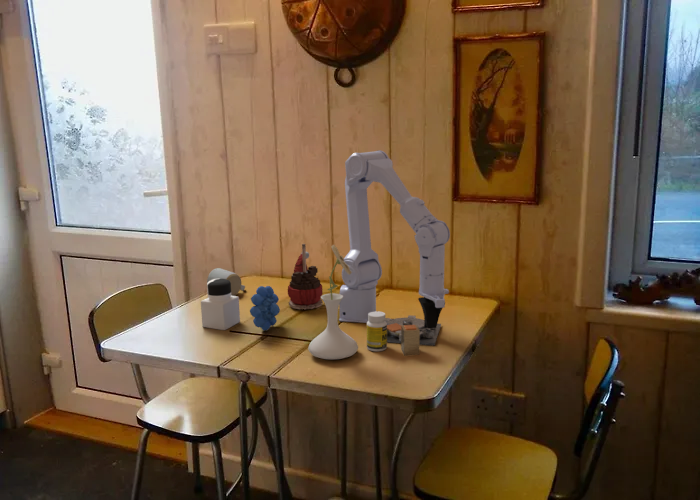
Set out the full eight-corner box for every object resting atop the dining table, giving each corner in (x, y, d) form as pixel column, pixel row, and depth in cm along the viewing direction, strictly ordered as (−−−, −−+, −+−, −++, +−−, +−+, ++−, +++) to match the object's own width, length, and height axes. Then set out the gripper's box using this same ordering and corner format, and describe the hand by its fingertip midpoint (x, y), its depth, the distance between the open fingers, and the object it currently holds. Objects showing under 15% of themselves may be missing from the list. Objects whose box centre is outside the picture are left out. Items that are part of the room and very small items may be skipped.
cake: (308, 314, 177) (306, 249, 173) (281, 308, 182) (278, 246, 178) (329, 303, 186) (328, 242, 182) (303, 298, 191) (301, 238, 187)
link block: (404, 355, 148) (404, 329, 146) (401, 350, 151) (401, 324, 150) (419, 354, 148) (419, 328, 146) (416, 349, 151) (416, 323, 150)
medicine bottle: (240, 322, 172) (238, 278, 169) (224, 330, 165) (221, 285, 163) (218, 318, 175) (215, 275, 172) (201, 327, 168) (198, 282, 166)
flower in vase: (353, 365, 142) (352, 254, 137) (303, 362, 144) (299, 253, 139) (363, 343, 155) (361, 241, 149) (316, 341, 157) (313, 240, 151)
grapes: (268, 340, 158) (266, 293, 156) (245, 336, 161) (242, 290, 158) (292, 325, 169) (290, 280, 166) (269, 321, 171) (267, 278, 169)
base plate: (372, 341, 156) (372, 338, 156) (383, 322, 170) (383, 319, 170) (434, 345, 153) (434, 343, 153) (441, 325, 166) (441, 323, 166)
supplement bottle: (385, 352, 149) (385, 317, 148) (365, 351, 150) (364, 316, 148) (388, 344, 154) (388, 311, 152) (368, 343, 155) (368, 310, 153)
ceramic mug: (226, 299, 191) (224, 274, 189) (207, 295, 196) (205, 270, 194) (251, 291, 199) (250, 267, 198) (232, 287, 204) (231, 263, 202)
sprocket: (374, 338, 156) (374, 321, 155) (386, 319, 170) (386, 302, 169) (431, 342, 153) (431, 325, 152) (438, 322, 166) (438, 306, 165)
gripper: (458, 280, 147) (456, 336, 151) (439, 264, 161) (438, 316, 164) (427, 281, 146) (427, 338, 149) (411, 266, 160) (411, 318, 163)
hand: (431, 327), depth 157 cm, fingers closed
